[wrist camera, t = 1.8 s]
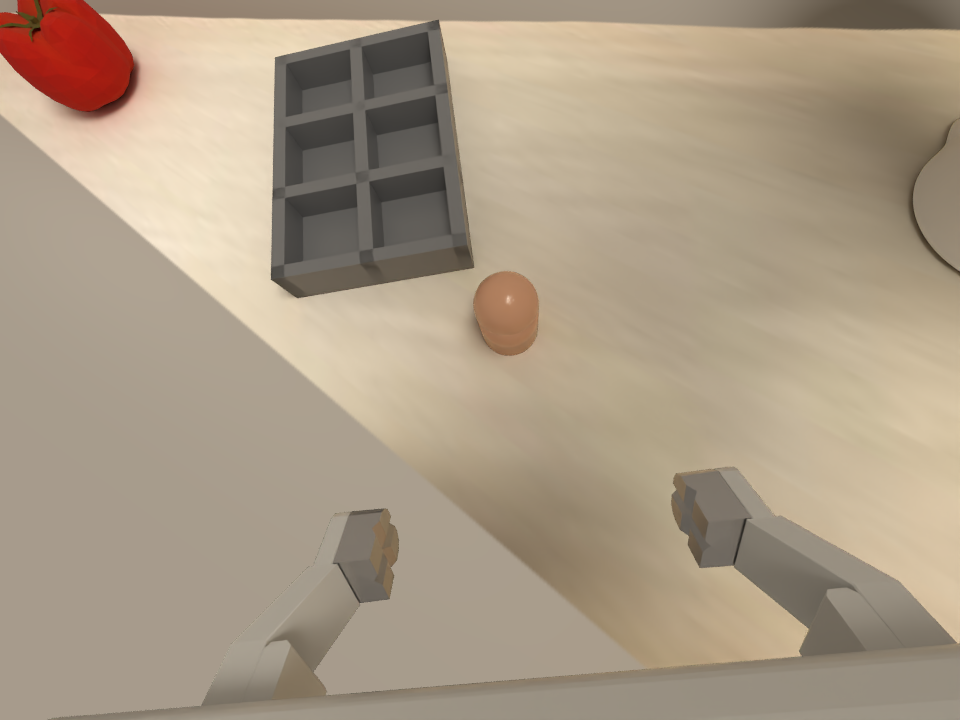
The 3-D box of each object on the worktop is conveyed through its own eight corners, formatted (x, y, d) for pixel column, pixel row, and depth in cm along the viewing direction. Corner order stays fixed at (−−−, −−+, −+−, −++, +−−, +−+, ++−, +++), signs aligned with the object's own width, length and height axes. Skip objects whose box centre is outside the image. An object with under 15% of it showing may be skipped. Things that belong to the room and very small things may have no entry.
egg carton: (446, 59, 43) (438, 19, 39) (474, 267, 36) (467, 244, 32) (297, 92, 44) (274, 57, 41) (297, 297, 38) (271, 279, 34)
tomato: (92, 141, 47) (-9, 68, 38) (56, 86, 50) (-44, 7, 41) (166, 87, 47) (83, 3, 39) (126, 36, 50) (41, -52, 42)
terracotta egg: (532, 299, 35) (533, 253, 27) (541, 350, 34) (545, 318, 26) (479, 307, 35) (465, 265, 28) (486, 359, 34) (473, 329, 26)
